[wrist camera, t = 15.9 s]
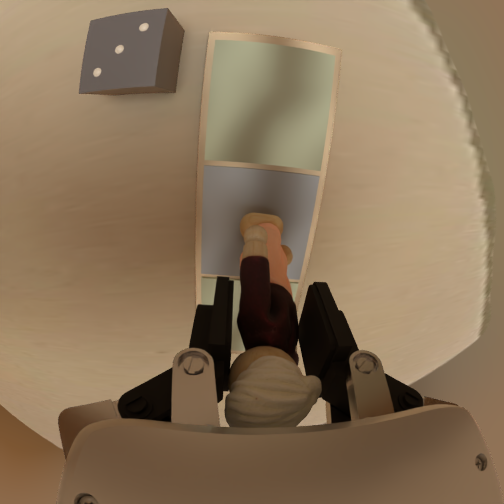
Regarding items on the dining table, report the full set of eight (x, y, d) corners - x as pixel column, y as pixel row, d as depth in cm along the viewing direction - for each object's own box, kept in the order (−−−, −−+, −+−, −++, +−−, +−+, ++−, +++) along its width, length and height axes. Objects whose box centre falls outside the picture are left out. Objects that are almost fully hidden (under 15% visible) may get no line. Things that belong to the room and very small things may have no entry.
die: (113, 95, 16) (78, 93, 11) (121, 36, 13) (89, 20, 9) (175, 92, 16) (154, 86, 12) (184, 31, 14) (167, 7, 9)
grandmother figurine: (214, 212, 17) (131, 382, 6) (269, 186, 16) (268, 351, 5) (267, 301, 20) (262, 471, 9) (316, 282, 19) (349, 455, 8)
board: (199, 343, 27) (198, 352, 26) (211, 35, 14) (209, 31, 13) (283, 347, 28) (285, 356, 27) (337, 52, 15) (342, 49, 14)
